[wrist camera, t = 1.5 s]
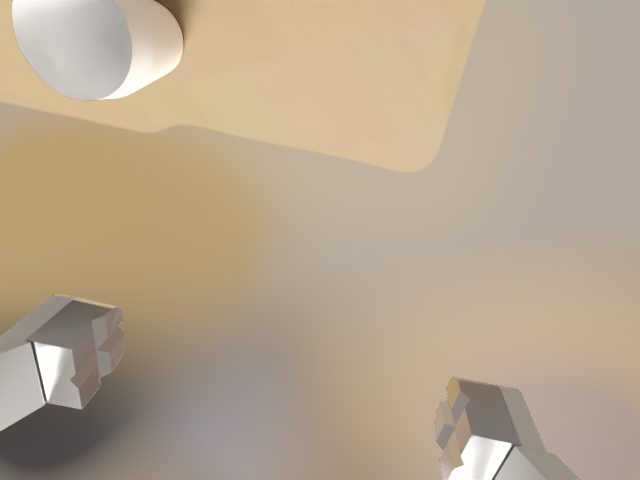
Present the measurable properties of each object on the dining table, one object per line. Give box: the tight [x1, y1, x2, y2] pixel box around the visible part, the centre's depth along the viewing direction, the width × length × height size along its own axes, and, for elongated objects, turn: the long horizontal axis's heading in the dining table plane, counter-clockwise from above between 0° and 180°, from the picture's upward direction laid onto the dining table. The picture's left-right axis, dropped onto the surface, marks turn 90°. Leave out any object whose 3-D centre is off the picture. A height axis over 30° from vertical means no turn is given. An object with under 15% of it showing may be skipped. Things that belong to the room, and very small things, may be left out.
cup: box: [12, 0, 183, 101], centre depth 33 cm, size 9×9×12 cm
